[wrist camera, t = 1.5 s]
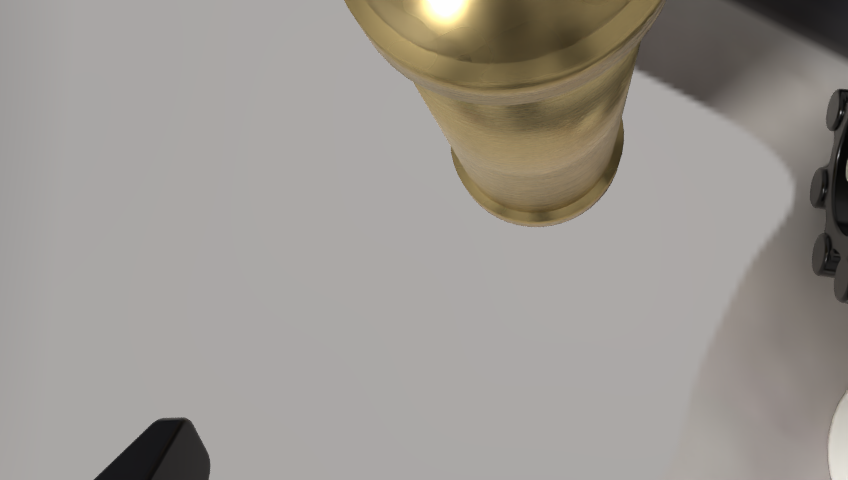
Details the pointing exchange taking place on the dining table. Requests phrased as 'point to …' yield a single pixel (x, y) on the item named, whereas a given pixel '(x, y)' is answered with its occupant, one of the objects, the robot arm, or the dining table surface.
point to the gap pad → (839, 441)
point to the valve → (834, 201)
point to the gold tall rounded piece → (520, 92)
